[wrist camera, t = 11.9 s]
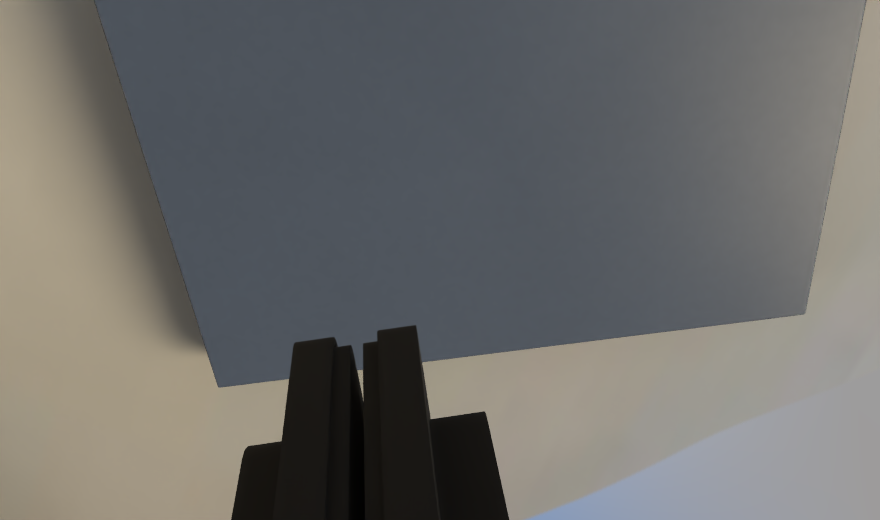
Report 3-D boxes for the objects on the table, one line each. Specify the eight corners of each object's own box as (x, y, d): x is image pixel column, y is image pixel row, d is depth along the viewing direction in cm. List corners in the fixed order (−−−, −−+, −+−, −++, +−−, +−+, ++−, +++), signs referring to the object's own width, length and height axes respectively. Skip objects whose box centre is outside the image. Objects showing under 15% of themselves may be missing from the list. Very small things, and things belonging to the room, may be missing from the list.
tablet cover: (87, -50, 23) (78, -44, 22) (878, -140, 24) (894, -136, 23) (220, 375, 32) (217, 388, 31) (796, 303, 32) (805, 315, 32)
